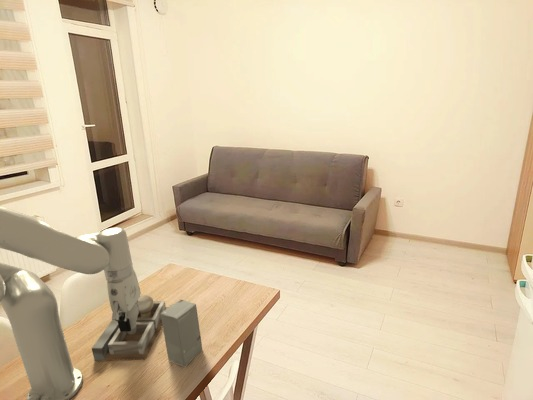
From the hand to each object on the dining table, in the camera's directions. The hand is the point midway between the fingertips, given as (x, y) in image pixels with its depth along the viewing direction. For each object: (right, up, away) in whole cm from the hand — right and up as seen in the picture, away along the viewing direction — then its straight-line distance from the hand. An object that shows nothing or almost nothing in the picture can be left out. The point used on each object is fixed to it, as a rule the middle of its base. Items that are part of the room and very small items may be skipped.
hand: (130, 322), depth 102 cm
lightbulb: (0, -4, +1) cm, 4 cm away
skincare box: (+17, -8, -3) cm, 19 cm away
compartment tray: (-1, -6, +7) cm, 10 cm away
